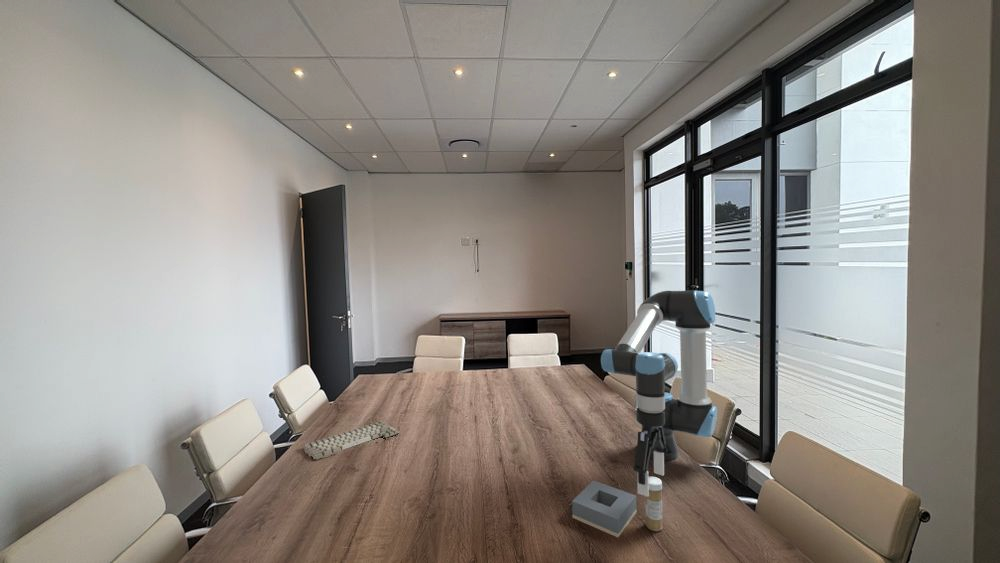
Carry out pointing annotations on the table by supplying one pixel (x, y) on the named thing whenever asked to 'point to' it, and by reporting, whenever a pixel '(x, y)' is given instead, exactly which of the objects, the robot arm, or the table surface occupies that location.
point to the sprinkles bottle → (654, 504)
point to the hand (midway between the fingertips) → (651, 483)
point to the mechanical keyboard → (350, 439)
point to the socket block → (604, 508)
